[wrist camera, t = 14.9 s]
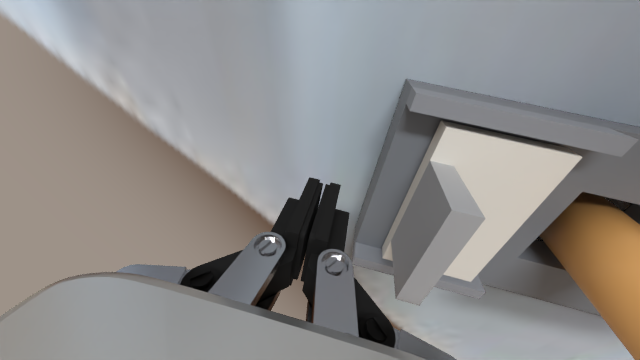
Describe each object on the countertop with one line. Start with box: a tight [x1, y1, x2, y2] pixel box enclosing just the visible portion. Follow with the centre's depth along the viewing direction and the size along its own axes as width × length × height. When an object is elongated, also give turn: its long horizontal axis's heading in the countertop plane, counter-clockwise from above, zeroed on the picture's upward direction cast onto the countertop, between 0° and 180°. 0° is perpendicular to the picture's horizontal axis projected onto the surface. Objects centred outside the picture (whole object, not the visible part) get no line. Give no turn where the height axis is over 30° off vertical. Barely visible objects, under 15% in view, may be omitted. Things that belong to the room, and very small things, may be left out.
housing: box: [352, 79, 640, 316], centre depth 14 cm, size 24×12×4 cm, turn 80°
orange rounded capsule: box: [539, 192, 640, 360], centre depth 12 cm, size 4×4×9 cm
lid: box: [382, 121, 582, 306], centre depth 12 cm, size 6×10×5 cm, turn 170°
